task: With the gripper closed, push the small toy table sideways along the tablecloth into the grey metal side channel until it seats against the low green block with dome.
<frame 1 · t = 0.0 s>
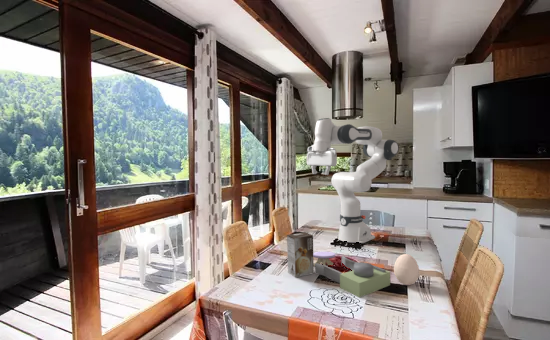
hand: (320, 174, 154), 39 cm above the table, tool pointing down, fingers open, 8 cm apart
coffee box: (300, 273, 121), on the table
egg: (406, 284, 109), on the table
chute mount: (345, 276, 117), on the table
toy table: (323, 266, 128), on the table
green block with dome: (365, 286, 108), on the table
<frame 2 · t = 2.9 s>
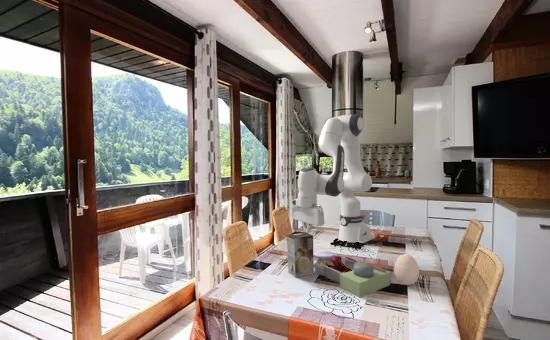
hand: (307, 231, 136), 13 cm above the table, tool pointing down, fingers closed
nothing on the table moved.
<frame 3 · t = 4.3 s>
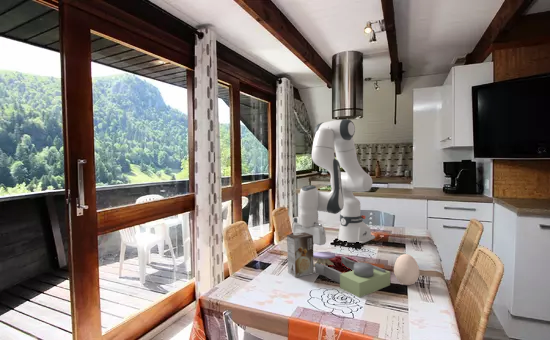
hand: (308, 249, 136), 5 cm above the table, tool pointing down, fingers closed
nothing on the table moved.
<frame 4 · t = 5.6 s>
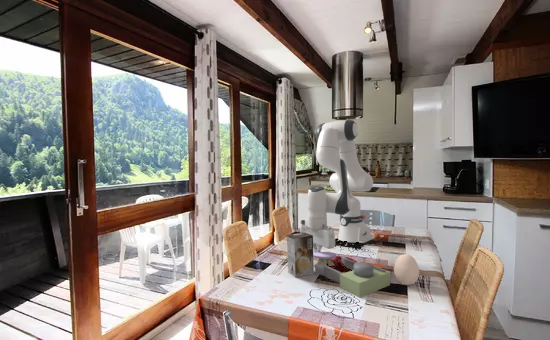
hand: (317, 253, 131), 5 cm above the table, tool pointing down, fingers closed
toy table: (324, 267, 127), on the table, touching gripper
everything else where it was.
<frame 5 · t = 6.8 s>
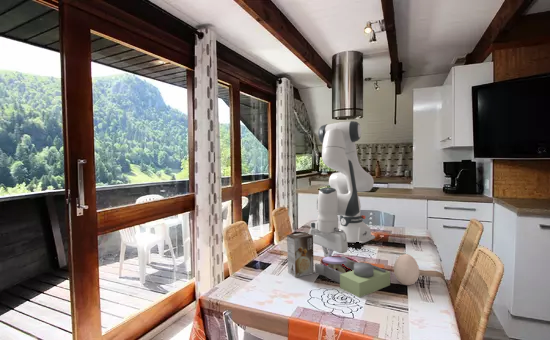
hand: (327, 257, 125), 5 cm above the table, tool pointing down, fingers closed
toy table: (334, 273, 121), on the table, touching gripper
everything else where it was.
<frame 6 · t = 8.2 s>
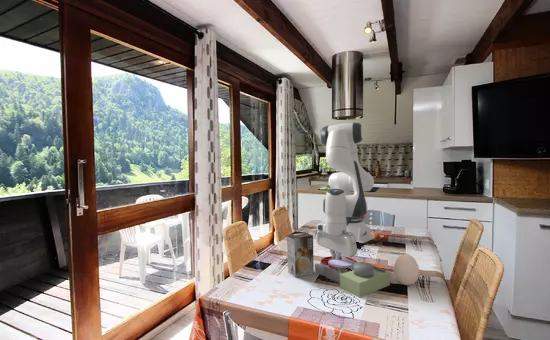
hand: (335, 260, 122), 4 cm above the table, tool pointing down, fingers closed
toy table: (340, 276, 117), on the table, touching chute mount, gripper
everything else where it was.
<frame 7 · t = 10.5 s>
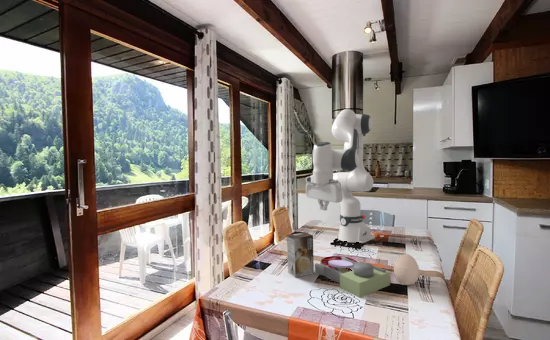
hand: (323, 209, 129), 25 cm above the table, tool pointing down, fingers closed
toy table: (340, 277, 117), on the table
everything else where it was.
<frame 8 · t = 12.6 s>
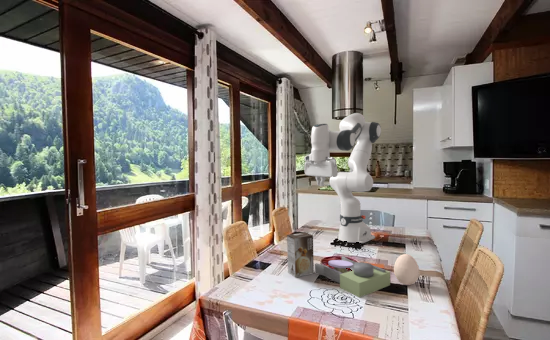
hand: (320, 185, 141), 34 cm above the table, tool pointing down, fingers closed
nothing on the table moved.
at the end: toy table inside the target area (2.4 cm from its centre), on the table; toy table tilted 0°; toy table moved 12.2 cm from its start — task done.
